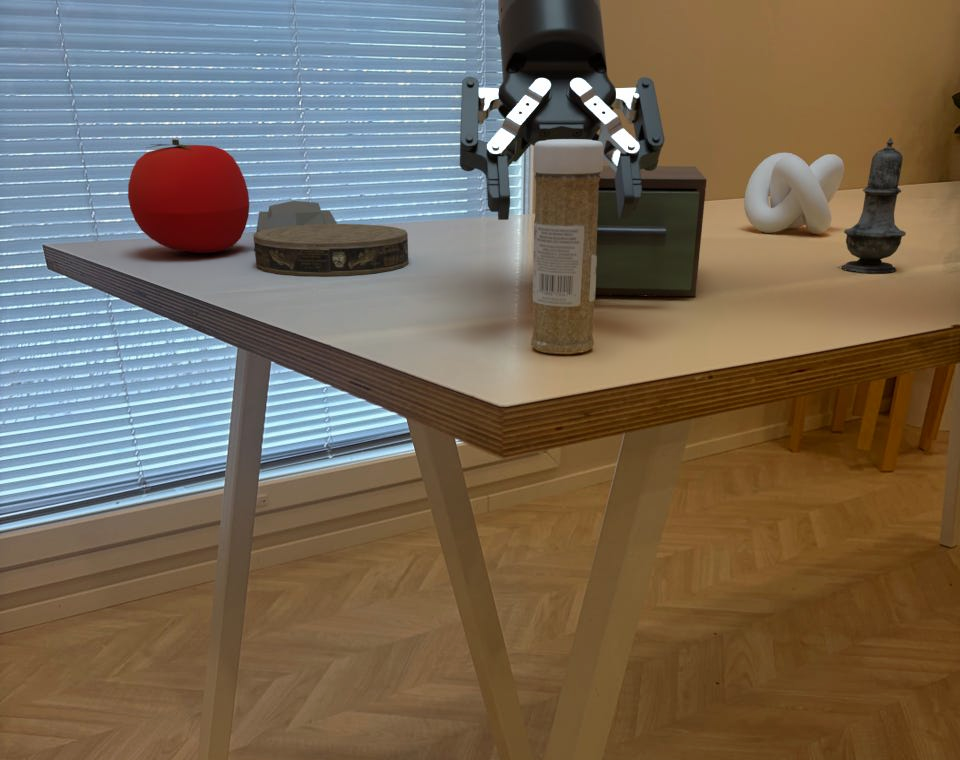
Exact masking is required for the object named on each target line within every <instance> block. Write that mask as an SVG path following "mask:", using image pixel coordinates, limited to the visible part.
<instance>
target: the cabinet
mask: <svg viewBox="0 0 960 760" xmlns="http://www.w3.org/2000/svg"><path fill="white" fill-rule="evenodd" d="M600 176H601V178H600V180H599V188H616V186H615V176H616V172H615V171H614V170H613V169H612V168H611V167H610V166H609V165H603V170H602V172H601V173H600ZM640 176H641V185H642V189H687V190H688V191H698V192H699V193H700V194H699V205H698V216H697V227H696V237H695V248H694V259H693V269H692V280H691V289H690V290H669V289H621V288H596V290H595V296H612V295H647V296H646V297H659V296H695V297H696V294H697V284H698V274H699V265H700V264H699V263H700V252H701V244H702V243H701V242H702V233H703V231H702V230H703V220H704V213H705V212H704V211H705V201H706V189H707V180H708V179H707V178H706V177H705V176H704V174H702V172H701V171H700V170H699V169H698V168H697V166H670V165H669V166H664V165H663V166H661V165H659V166H658V165H657V167H656V169H654V170H652V171H647V170H645V169H641V170H640Z"/></svg>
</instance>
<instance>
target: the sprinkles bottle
mask: <svg viewBox="0 0 960 760" xmlns="http://www.w3.org/2000/svg"><path fill="white" fill-rule="evenodd" d="M603 166H604V161H603V144H602V142H600V141H593V140H587V139H553V140H545V141H538V142H536V143H535V145H534V146H533V172H534V173H535V175H534V180H535V201H534V202H535V204H534V205H535V207H534V221H533V251H532V252H533V259H532V263H533V264H532V265H533V266H532V271H533V272H532V301H533V302H532V303H533V305H532V306H533V307H532V311H533V313H532V314H533V316H532V337H531V340H530V345H531V347H532V348H533V349H534V350H536V351H538V352H540V353H545V354H549V355H551V354H552V355H575V354H583V353H586V352H588V351H590V350H591V349H593V347H594V345H595V339H594V334H593V333H594V311H595V300H596V295H595V290H596V267H597V256H596V246H597V244H596V242H597V219H598V197H599V180H600V178H601V176H600V173H601V172H602V170H603Z"/></svg>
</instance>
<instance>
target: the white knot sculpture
mask: <svg viewBox="0 0 960 760" xmlns="http://www.w3.org/2000/svg"><path fill="white" fill-rule="evenodd" d="M844 173H845V164H844V162H843V159H842V158H841V157H840V156H838V155H836V154H835V153H834V154H833V153H830V154H829V153H828V154H824V155H822V156H820V157H819V158H817V159H816V160H814V161H813V162H812V163H811V164H810V165H809V164H808V163H807V162H806V161H805V160H804V159H803V158H801V157H800V156H798V155H797V154H794V153H791V152H777V153H774V154H771V155H770V156H768V157H766V158H764V159H763V160H762V161H761V162H760V163H759V164H758V165H757V166H756V168H755V169H754V171H753V172H752V173H751V176H750V178H749V179H748V183H747V186H746V189H745V192H744V199H743V201H744V202H743V204H744V206H743V207H744V212H745V217H746V219H747V220H748V222H749V224H751V226H752V227H754V229H755V230H756V231H759V232H761V233H764V234H774V233H777V232H782V231H783V230H785V229H791V230H792V229H793V230H794V229H799V228H801V227H803V226H805V228H806V230H807V231H808V232H810V233H811V234H813V235H821V234H825V232H827V231H828V230H829V228H830V227H831V224H832V219H833V218H832V216H833V215H832V212H831V209H830V205H829V203H830V202H831V201H832V200H833V198H834V197H835V195H836V193H837V192H838V190H839V188H840V187H841V184H842V181H843V178H844ZM769 202H770V203H769Z"/></svg>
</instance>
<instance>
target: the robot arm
mask: <svg viewBox="0 0 960 760" xmlns="http://www.w3.org/2000/svg"><path fill="white" fill-rule="evenodd" d="M497 6H498V7H497V8H498V9H497V10H498V20H497V33H498V36H499V42H500V58H501V59H500V60H501V72H502V73H501V74H502V83H501V84H500V86H499V87H498V88H497V87H480V83H479V80H478V79H477V78H475V77H474V76H467V77H464V78H463V80H461V98H460V99H461V100H460V127H459V129H460V132H459V133H460V135H459V136H460V137H459V167H460V168H461V170H462V171H464V172H472V171H474V170H479V171H480V172H482V173H483V174H484V175H485V180H486V183H485V184H486V193H487V194H486V197H487V207H488V209H489V211H490V213H497V220H498V221H508V220H509V217H510V210H511V191H510V188H511V187H510V175H509V167H510V166H511V164H512V163H513V162H514V163H517V162H518V160H519V159H520V158H521V157H522V156H523V154H525V152H526V151H527V150H528V149H529V147H530V146H533V147H534V145H535V143H536V142H538V141H545V140H553V139H587V140H593V141H600V142H602V144H603V162H605V164H606V165H607V166H610V167H611V168H612V169H613V170H614V171H615V172H616V176H615V186H616V196H617V206H618V216H619V219H630V216H631V212H632V211H636V210H637V207H638V204H639V201H640V197H641V194H642V185H641V176H640V170H641V169H645V170H647V171H652V170H654V169H656V167H657V166H658V163H659V158H660V155H661V152H662V149H663V146H664V144H665V134H664V130H663V129H664V128H663V124H662V119H661V114H660V108H659V102H658V98H657V97H658V96H657V93H656V88H655V83H654V81H653V79H651V78H650V77H647V76H645V77H643V76H642V77H640V78H639V79H638V80H637V81H636V86H634V87H615V85H614V84H613V83H612V81H611V80H610V77H609V75H608V68H607V66H608V65H607V57H606V47H605V46H606V45H605V36H604V29H603V28H604V27H603V17H602V9H601V0H498V2H497ZM496 109H497V111H498V113H499V115H500V116H501V117H502V118H503V119H504V120H503V122H502V126H501V127H500V128H499V129H498V130H497V132H496V133H495V134H494V135H493V136H492V137H491V139H490V140H489V141H488V142H487V141H485V140H481V139H479V125H483V124H484V121H486V120H487V119H488V118H489V116H490V113H491V111H493V110H496ZM614 109H617V110H620V111H621V112H622V114H623V116H624V117H625V118H626V122H627V124H629V125H633V130H634V134H635V136H633V135H631V134H630V133H629V132H628V131H627V130H626V129H625V128H624V127H623V125H622V120H621V118H620V117H619V115H618V114H617V113H616V112H615V111H614ZM598 132H599V134H598ZM634 137H635V138H634Z"/></svg>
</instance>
